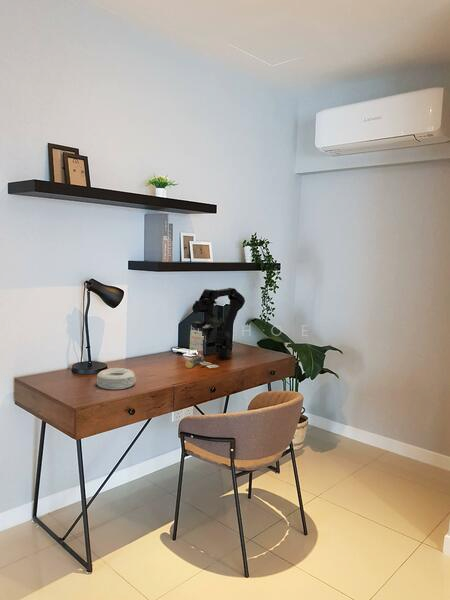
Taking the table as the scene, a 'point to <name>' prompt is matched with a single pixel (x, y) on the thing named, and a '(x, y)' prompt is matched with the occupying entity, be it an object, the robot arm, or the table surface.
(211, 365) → the label tile
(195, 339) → the ink cartridge box
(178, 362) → the table surface
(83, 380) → the table surface
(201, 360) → the swing arm
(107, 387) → the grey stone ring
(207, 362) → the label tile
